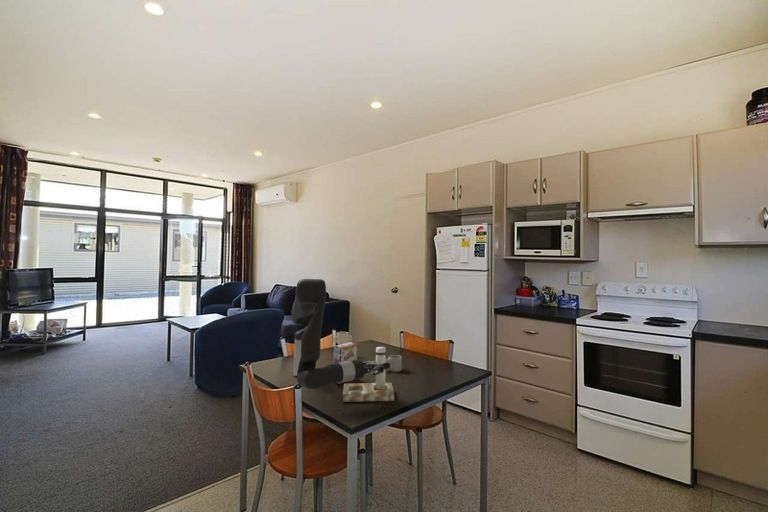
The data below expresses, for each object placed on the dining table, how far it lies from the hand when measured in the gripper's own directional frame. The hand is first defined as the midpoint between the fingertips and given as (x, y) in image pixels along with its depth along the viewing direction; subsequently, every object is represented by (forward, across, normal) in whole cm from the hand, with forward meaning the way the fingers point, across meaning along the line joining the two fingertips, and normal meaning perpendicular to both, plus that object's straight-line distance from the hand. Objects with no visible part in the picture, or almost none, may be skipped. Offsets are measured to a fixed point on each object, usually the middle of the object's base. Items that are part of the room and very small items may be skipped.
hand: (386, 364), depth 150 cm
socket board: (-7, +3, +12) cm, 14 cm away
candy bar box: (-6, +24, +12) cm, 28 cm away
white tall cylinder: (-3, 0, +9) cm, 9 cm away
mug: (+21, +25, +12) cm, 35 cm away
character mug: (+13, +63, +12) cm, 65 cm away
